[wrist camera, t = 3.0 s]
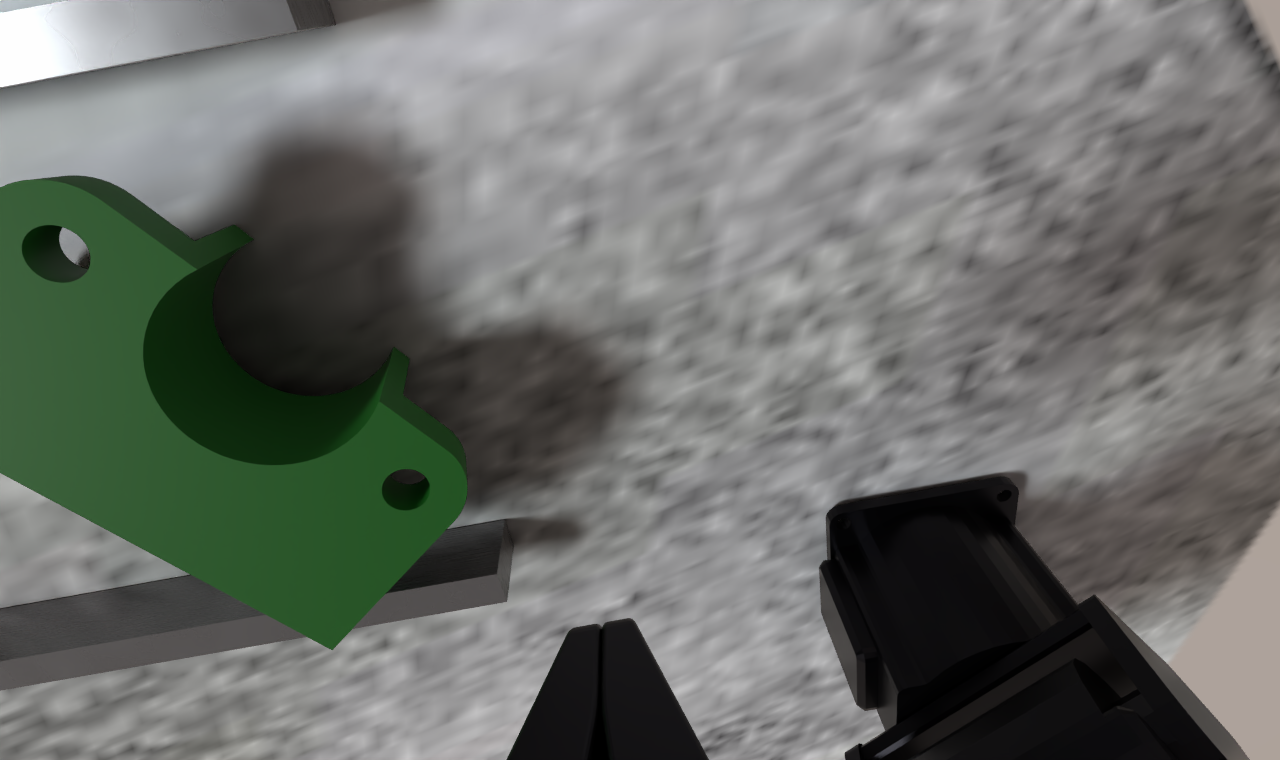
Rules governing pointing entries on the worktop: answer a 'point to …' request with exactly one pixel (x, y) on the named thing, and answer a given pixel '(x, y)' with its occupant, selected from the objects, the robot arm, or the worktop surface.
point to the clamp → (202, 419)
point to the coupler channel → (186, 606)
